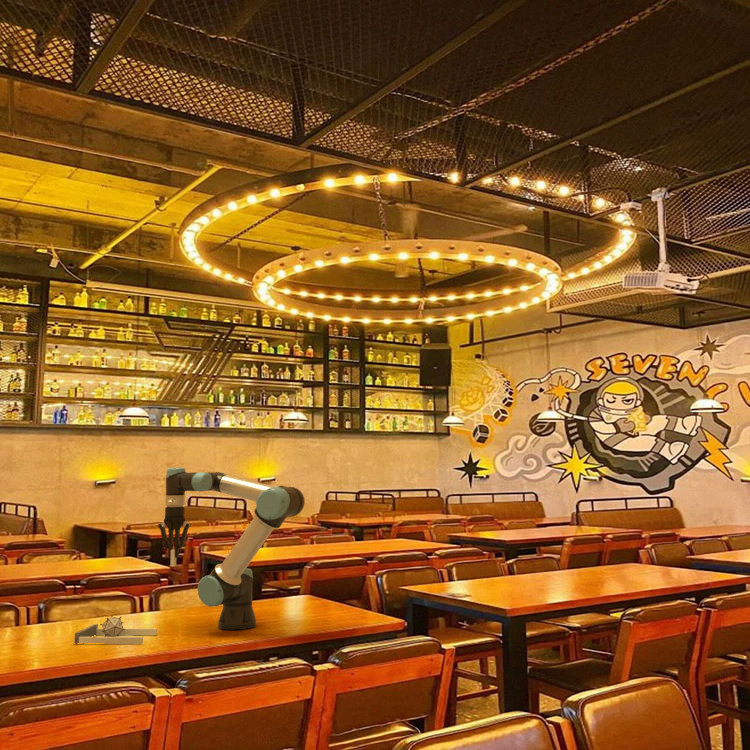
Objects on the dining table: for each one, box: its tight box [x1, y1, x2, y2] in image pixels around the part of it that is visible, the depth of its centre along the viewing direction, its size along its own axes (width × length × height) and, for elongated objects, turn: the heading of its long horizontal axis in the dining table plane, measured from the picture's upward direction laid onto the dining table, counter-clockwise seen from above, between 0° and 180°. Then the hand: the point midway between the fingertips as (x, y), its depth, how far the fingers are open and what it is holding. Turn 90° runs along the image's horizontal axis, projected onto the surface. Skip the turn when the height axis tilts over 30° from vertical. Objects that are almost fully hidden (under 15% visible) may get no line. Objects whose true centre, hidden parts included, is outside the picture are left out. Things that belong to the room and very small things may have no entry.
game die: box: [99, 614, 125, 637], centre depth 278 cm, size 9×8×10 cm
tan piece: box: [73, 623, 158, 645], centre depth 275 cm, size 25×16×4 cm, turn 87°
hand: (173, 565), depth 296 cm, fingers closed
